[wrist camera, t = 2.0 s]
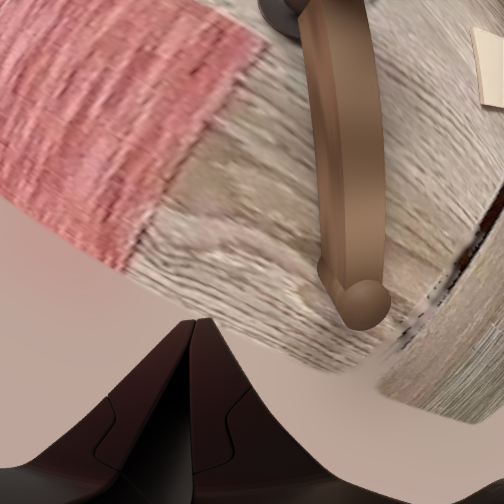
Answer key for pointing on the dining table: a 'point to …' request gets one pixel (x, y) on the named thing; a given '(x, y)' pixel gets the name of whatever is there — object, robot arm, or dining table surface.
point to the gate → (347, 155)
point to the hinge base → (280, 17)
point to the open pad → (489, 66)
